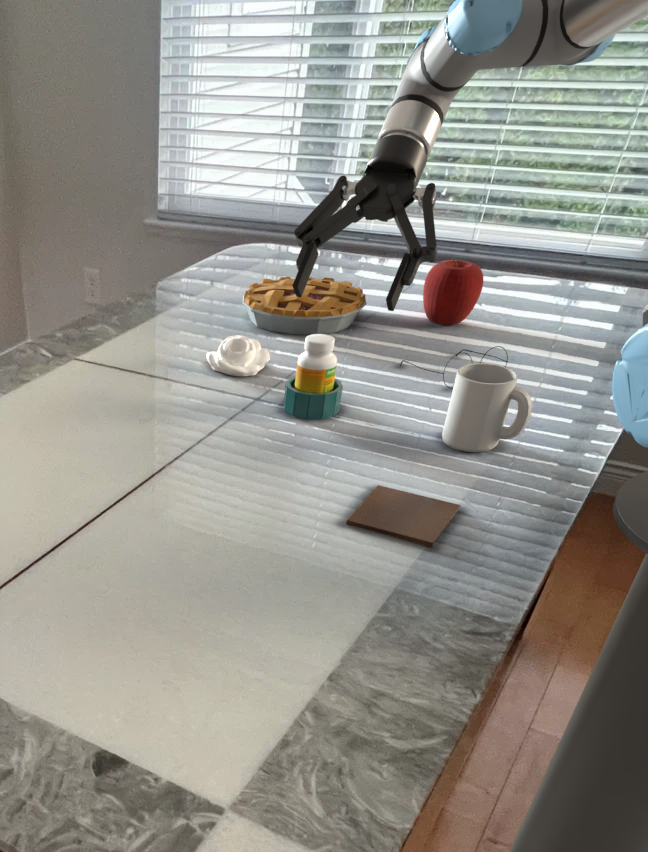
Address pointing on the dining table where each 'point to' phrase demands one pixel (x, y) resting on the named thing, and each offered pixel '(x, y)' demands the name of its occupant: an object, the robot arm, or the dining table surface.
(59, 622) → the dining table surface
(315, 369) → the supplement bottle
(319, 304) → the pie
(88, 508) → the dining table surface
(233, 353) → the rose
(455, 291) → the apple
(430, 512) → the coaster
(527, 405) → the cup
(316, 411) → the teal bowl
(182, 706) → the dining table surface
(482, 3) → the robot arm
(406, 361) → the eyeglasses
